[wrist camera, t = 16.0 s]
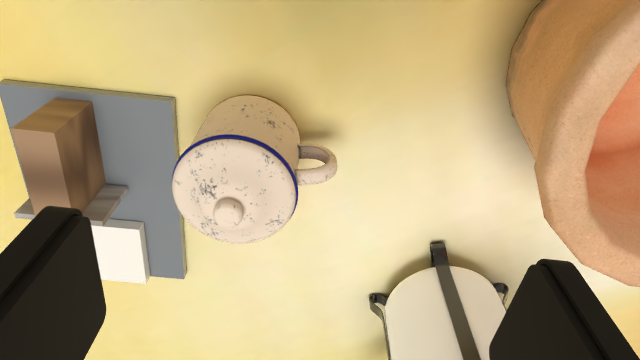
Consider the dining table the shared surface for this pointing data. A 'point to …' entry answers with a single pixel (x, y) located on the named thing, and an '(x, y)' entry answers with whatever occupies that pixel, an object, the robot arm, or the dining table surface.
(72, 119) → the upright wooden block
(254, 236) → the teacup with lid
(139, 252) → the tile
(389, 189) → the dining table surface
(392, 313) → the coffee press
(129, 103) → the slate board
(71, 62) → the dining table surface
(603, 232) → the pottery
